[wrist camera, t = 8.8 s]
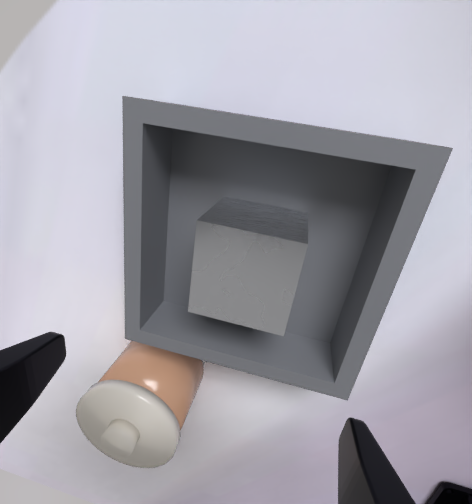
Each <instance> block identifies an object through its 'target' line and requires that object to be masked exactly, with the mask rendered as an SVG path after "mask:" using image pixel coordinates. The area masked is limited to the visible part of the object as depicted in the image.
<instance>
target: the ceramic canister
mask: <svg viewBox="0 0 472 504" xmlns="http://www.w3.org/2000/svg"><path fill="white" fill-rule="evenodd" d="M203 371H204V369H203V363H202V360H200V359H196V358H193V357H189V356H186V355H182V354H178V353H175V352H171V351H168V350H164V349H160V348H157V347H153V346H149V345H146V344H142V343H139V342H135V341H131V342H130V344H129V345H128V346H127V347H126V348H125V350H124V351H123V352H122V353H121V355H120V356H119V357H118V358H117V360H116V361H115V362H114V363H113V364H112V366H111V367H110V368H109V369H108V371H107V372H106V373H105V374H104V376H103V377H102V378H101V379H100V380H99V382H98V383H96V384H94V385H93V386H91V387H90V388H89V389H88V391H87V392H86V393H85V394H84V395H83V397H82V398H81V399H80V401H79V402H78V405H77V408H76V417H77V421H78V424H79V426H80V428H81V430H82V432H83V433H84V435H85V436H86V437H87V439H88V440H89V441H90V442H91V443H92V444H93V445H94V446H95V447H96V448H97V449H99V450H100V451H101V452H103V453H104V454H106V455H107V456H109V457H111V458H112V459H114V460H116V461H118V462H121V463H123V464H126V465H130V466H134V467H140V468H154V467H158V466H161V465H164V464H165V463H167V462H168V461H169V460H170V459H171V458H172V457H173V455H174V453H175V450H176V448H177V445H178V443H179V440H180V430H181V428H182V426H183V423H184V421H185V418H186V416H187V414H188V411H189V409H190V406H191V404H192V402H193V399H194V397H195V394H196V392H197V390H198V387H199V385H200V382H201V380H202V378H203Z"/></svg>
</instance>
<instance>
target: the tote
mask: <svg viewBox="0 0 472 504" xmlns="http://www.w3.org/2000/svg"><path fill="white" fill-rule="evenodd" d="M452 149H453V148H449V147H443V146H437V145H431V144H426V143H420V142H414V141H407V140H401V139H395V138H388V137H382V136H376V135H369V134H363V133H357V132H350V131H344V130H338V129H331V128H325V127H319V126H312V125H306V124H300V123H293V122H287V121H281V120H274V119H268V118H262V117H255V116H249V115H243V114H236V113H230V112H224V111H217V110H211V109H205V108H198V107H192V106H186V105H179V104H173V103H167V102H160V101H153V100H147V99H140V98H133V97H126V96H123V187H124V280H125V339H128V340H131V341H135V342H139V343H142V344H146V345H149V346H153V347H157V348H160V349H164V350H168V351H171V352H175V353H178V354H182V355H186V356H189V357H193V358H196V359H200V360H204V361H207V362H211V363H214V364H218V365H222V366H225V367H229V368H232V369H236V370H240V371H243V372H247V373H250V374H254V375H258V376H261V377H265V378H268V379H272V380H276V381H279V382H283V383H286V384H290V385H294V386H297V387H301V388H304V389H308V390H312V391H315V392H319V393H323V394H326V395H330V396H333V397H337V398H341V399H344V400H348V398H349V395H350V393H351V391H352V388H353V386H354V384H355V381H356V379H357V376H358V374H359V372H360V369H361V367H362V364H363V362H364V360H365V357H366V355H367V352H368V350H369V348H370V345H371V343H372V340H373V338H374V336H375V333H376V331H377V328H378V326H379V324H380V321H381V319H382V317H383V314H384V312H385V309H386V307H387V305H388V302H389V300H390V297H391V295H392V293H393V290H394V288H395V285H396V283H397V281H398V278H399V276H400V273H401V271H402V269H403V266H404V264H405V261H406V259H407V257H408V254H409V252H410V250H411V247H412V245H413V242H414V240H415V238H416V235H417V233H418V230H419V228H420V226H421V223H422V221H423V218H424V216H425V214H426V211H427V209H428V206H429V204H430V202H431V199H432V197H433V194H434V192H435V190H436V187H437V185H438V182H439V180H440V178H441V175H442V173H443V171H444V168H445V166H446V163H447V161H448V159H449V156H450V154H451V151H452ZM224 196H225V197H230V198H235V199H240V200H245V201H250V202H255V203H260V204H265V205H270V206H275V207H280V208H285V209H290V210H295V211H300V212H305V213H308V247H307V251H306V254H305V258H304V262H303V266H302V269H301V273H300V277H299V281H298V284H297V288H296V292H295V296H294V299H293V303H292V307H291V311H290V314H289V318H288V322H287V326H286V329H285V333H284V336H280V335H277V334H273V333H269V332H265V331H261V330H257V329H253V328H249V327H246V326H242V325H238V324H234V323H230V322H226V321H222V320H218V319H215V318H211V317H207V316H203V315H199V314H195V313H191V312H188V306H189V295H190V285H191V275H192V264H193V254H194V244H195V233H196V223H197V220H198V219H199V218H200V217H201V216H202V215H203V214H205V213H206V212H207V211H208V210H209V209H210V208H211V207H213V206H214V205H215V204H216V203H217V202H218V201H220V200H221V199H222V198H223V197H224Z"/></svg>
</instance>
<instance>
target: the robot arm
mask: <svg viewBox="0 0 472 504" xmlns="http://www.w3.org/2000/svg"><path fill="white" fill-rule="evenodd" d="M65 357H66V347H65V338H64V336H63V335H62V334H59V333H55V332H48V333H45V334H43V335H40V336H37V337H35V338H32V339H29V340H27V341H24V342H21V343H19V344H16V345H13V346H11V347H8V348H6V349H3V350H0V443H1V442H2V441H3V440H4V438H5V437H6V436H7V435H8V434H9V433H10V431H11V430H12V429H13V428H14V427H15V425H16V424H17V423H18V422H19V421H20V420H21V418H22V417H23V416H24V415H25V414H26V413H27V411H28V410H29V409H30V408H31V406H32V405H33V404H34V402H35V401H36V400H37V398H38V397H39V396H40V394H41V393H42V391H43V390H44V389H45V387H46V386H47V384H48V383H49V382H50V380H51V379H52V377H53V376H54V374H55V373H56V372H57V370H58V369H59V367H60V366H61V365H62V363H63V362H64V360H65ZM338 504H416V503H415V502H414V500H413V499H412V497H411V496H410V494H409V492H408V491H407V489H406V488H405V486H404V484H403V483H402V481H401V480H400V478H399V476H398V475H397V473H396V472H395V470H394V468H393V467H392V465H391V464H390V462H389V460H388V459H387V457H386V456H385V454H384V452H383V451H382V449H381V448H380V446H379V444H378V443H377V441H376V440H375V438H374V436H373V435H372V433H371V432H370V430H369V428H368V427H367V425H366V424H365V423H364V422H363V421H361V420H358V419H354V418H348V419H347V421H346V423H345V425H344V428H343V430H342V432H341V435H340V438H339V454H338ZM428 504H472V489H469V488H466V487H462V486H459V485H456V484H452V483H448V482H446V483H442V484H441V485H440V487H439V488H438V490H437V491H436V492H435V494H434V495H433V497H432V498H431V499H430V501H429V502H428Z"/></svg>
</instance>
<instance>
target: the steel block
mask: <svg viewBox="0 0 472 504" xmlns="http://www.w3.org/2000/svg"><path fill="white" fill-rule="evenodd" d="M307 247H308V213H305V212H300V211H295V210H290V209H285V208H280V207H275V206H270V205H265V204H260V203H255V202H250V201H245V200H240V199H235V198H230V197H225V196H224V197H223V198H222V199H221V200H220V201H218V202H217V203H216V204H215V205H214V206H213V207H211V208H210V209H209V210H208V211H207V212H206V213H205V214H203V215H202V216H201V217H200V218H199V219H198V220H197V223H196V233H195V244H194V254H193V264H192V275H191V285H190V295H189V306H188V312H191V313H195V314H199V315H203V316H207V317H211V318H215V319H218V320H222V321H226V322H230V323H234V324H238V325H242V326H246V327H249V328H253V329H257V330H261V331H265V332H269V333H273V334H277V335H280V336H284V333H285V329H286V326H287V322H288V318H289V314H290V311H291V307H292V303H293V299H294V296H295V292H296V288H297V284H298V281H299V277H300V273H301V269H302V266H303V262H304V258H305V254H306V251H307Z"/></svg>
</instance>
